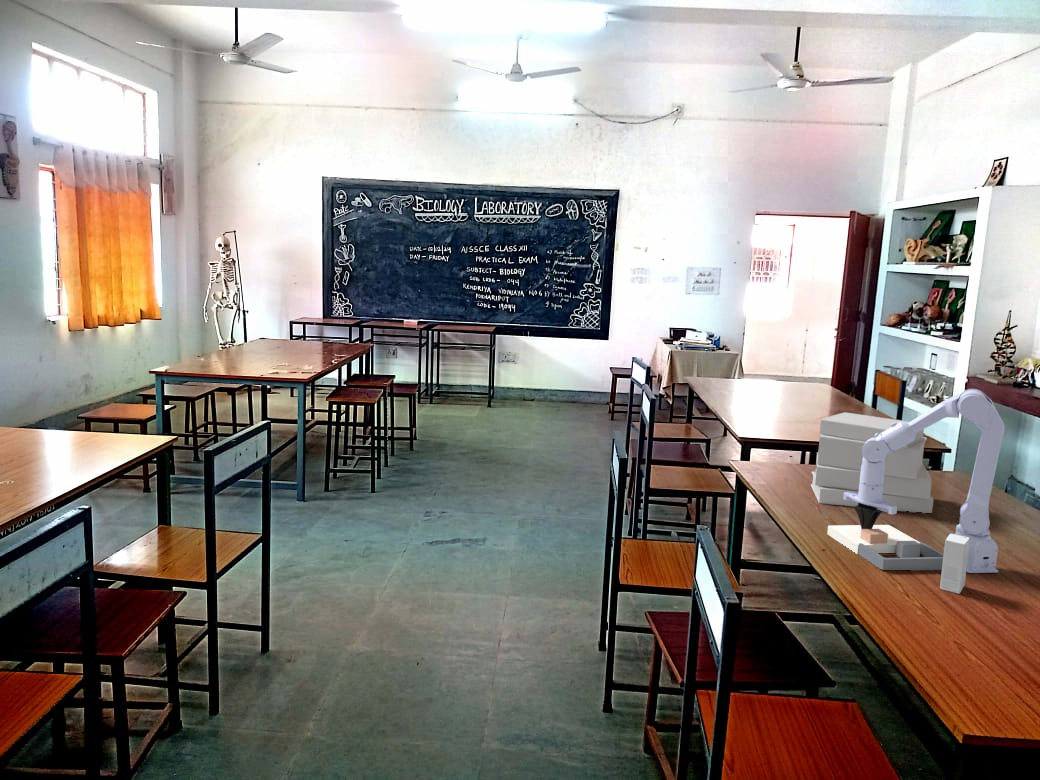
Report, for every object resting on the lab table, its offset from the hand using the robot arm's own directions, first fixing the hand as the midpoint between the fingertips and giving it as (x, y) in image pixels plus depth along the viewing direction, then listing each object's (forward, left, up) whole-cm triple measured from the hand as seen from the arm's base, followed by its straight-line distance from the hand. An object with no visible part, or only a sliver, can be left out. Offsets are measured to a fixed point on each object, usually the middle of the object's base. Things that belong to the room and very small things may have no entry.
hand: (866, 532), depth 199 cm
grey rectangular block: (-7, -6, -2) cm, 10 cm away
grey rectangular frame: (-11, -3, -3) cm, 12 cm away
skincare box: (-27, -5, -4) cm, 28 cm away
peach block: (-3, 0, -1) cm, 4 cm away
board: (+1, -3, -3) cm, 5 cm away
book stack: (+41, -25, -4) cm, 48 cm away
